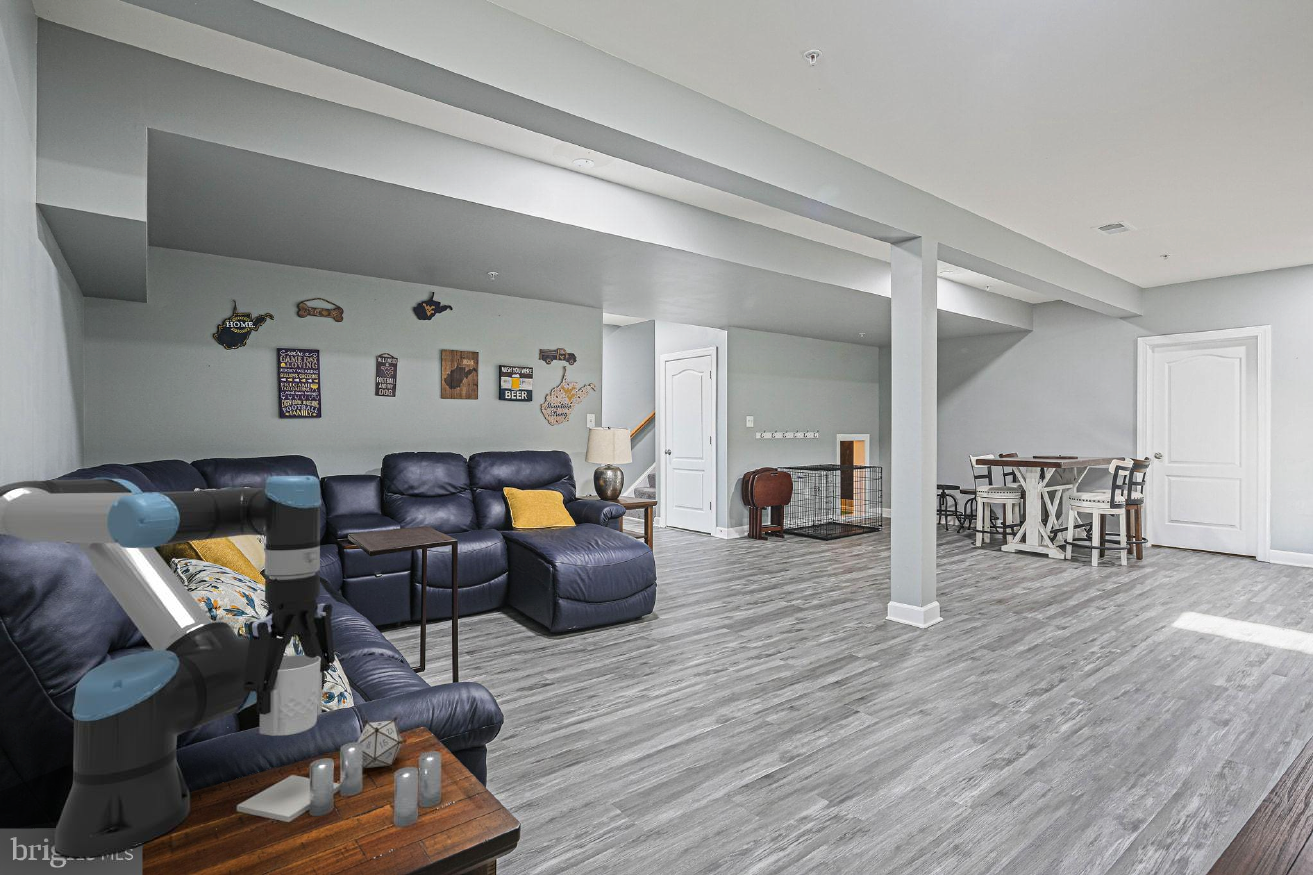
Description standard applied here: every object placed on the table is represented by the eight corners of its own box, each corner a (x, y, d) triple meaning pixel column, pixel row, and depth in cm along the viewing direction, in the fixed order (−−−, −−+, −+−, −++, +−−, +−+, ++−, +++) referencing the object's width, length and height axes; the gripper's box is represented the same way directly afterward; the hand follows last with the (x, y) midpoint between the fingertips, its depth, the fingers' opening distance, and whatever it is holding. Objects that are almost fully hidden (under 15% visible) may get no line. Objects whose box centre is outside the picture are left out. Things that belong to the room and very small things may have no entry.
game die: (366, 790, 113) (338, 738, 115) (412, 757, 119) (384, 708, 121) (373, 783, 107) (342, 728, 109) (421, 749, 112) (391, 697, 114)
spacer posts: (304, 814, 99) (304, 766, 99) (355, 781, 108) (355, 738, 109) (400, 834, 93) (401, 783, 94) (445, 798, 103) (445, 752, 103)
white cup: (295, 739, 99) (296, 671, 99) (249, 735, 100) (250, 668, 100) (331, 718, 106) (332, 655, 107) (288, 715, 108) (289, 653, 108)
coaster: (236, 810, 100) (236, 805, 100) (292, 779, 109) (292, 774, 109) (288, 822, 97) (288, 816, 97) (341, 789, 106) (341, 784, 106)
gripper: (253, 588, 93) (251, 754, 92) (360, 565, 112) (359, 702, 112) (213, 585, 95) (211, 747, 95) (325, 563, 115) (324, 697, 114)
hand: (291, 722), depth 103 cm, fingers closed on white cup, 7 cm apart
